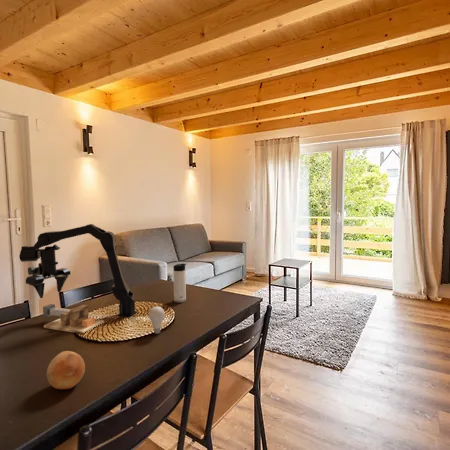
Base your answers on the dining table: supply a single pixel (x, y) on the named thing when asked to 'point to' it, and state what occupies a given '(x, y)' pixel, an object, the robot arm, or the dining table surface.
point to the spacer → (88, 322)
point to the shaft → (54, 311)
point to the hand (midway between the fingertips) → (50, 294)
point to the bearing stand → (73, 321)
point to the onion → (65, 370)
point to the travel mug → (179, 283)
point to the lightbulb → (156, 318)
